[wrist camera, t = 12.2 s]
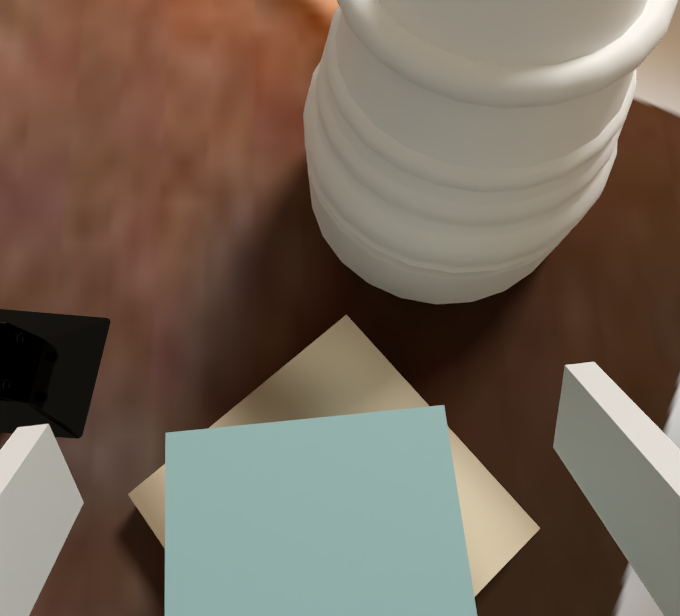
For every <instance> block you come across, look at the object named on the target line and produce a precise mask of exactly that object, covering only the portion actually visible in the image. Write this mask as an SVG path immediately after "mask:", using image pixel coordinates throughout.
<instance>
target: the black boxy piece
mask: <svg viewBox="0 0 680 616" xmlns="http://www.w3.org/2000/svg"><path fill="white" fill-rule="evenodd" d="M109 325H110V320H109V319H108V318H99V317H87V316H75V315H63V314H51V313H39V312H27V311H15V310H4V309H0V432H4V433H14V431H15V430H16V429H17V427H24V426H33V425H42V424H49V425H50V428H51V430H52V432H53V434H54V437H65V438H80V437H81V436H82V434H83V431H84V426H85V422H86V418H87V414H88V410H89V406H90V402H91V398H92V394H93V390H94V386H95V382H96V378H97V374H98V370H99V366H100V362H101V358H102V354H103V349H104V345H105V341H106V337H107V333H108V329H109Z"/></svg>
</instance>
